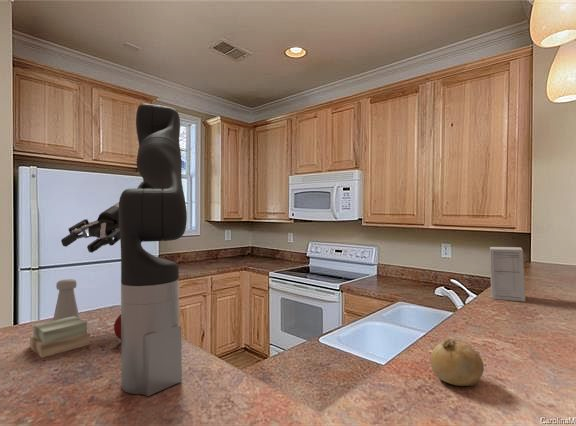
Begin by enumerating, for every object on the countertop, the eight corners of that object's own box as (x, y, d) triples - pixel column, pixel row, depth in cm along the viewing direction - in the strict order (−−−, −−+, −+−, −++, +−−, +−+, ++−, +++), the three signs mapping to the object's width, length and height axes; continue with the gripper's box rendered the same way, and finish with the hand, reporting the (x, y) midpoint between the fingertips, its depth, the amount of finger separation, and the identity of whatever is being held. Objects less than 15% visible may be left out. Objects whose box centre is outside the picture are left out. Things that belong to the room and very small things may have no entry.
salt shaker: (57, 336, 79) (57, 282, 80) (49, 331, 83) (48, 280, 83) (83, 329, 84) (83, 279, 84) (74, 325, 88) (74, 277, 88)
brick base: (90, 344, 74) (90, 322, 74) (41, 357, 67) (41, 333, 67) (75, 335, 80) (75, 315, 80) (29, 347, 73) (30, 324, 73)
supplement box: (523, 296, 112) (522, 247, 112) (526, 302, 104) (524, 249, 104) (490, 293, 117) (489, 246, 117) (490, 298, 109) (489, 248, 109)
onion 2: (438, 366, 60) (437, 327, 61) (488, 378, 55) (486, 336, 56) (424, 383, 54) (423, 340, 54) (479, 399, 49) (478, 352, 49)
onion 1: (130, 347, 71) (130, 311, 72) (107, 346, 73) (107, 310, 73) (147, 338, 77) (147, 304, 77) (125, 336, 78) (125, 303, 79)
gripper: (97, 202, 99) (49, 230, 85) (137, 209, 95) (94, 239, 82) (104, 223, 102) (59, 253, 89) (142, 230, 99) (102, 263, 86)
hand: (75, 246), depth 85 cm, fingers open, 8 cm apart
